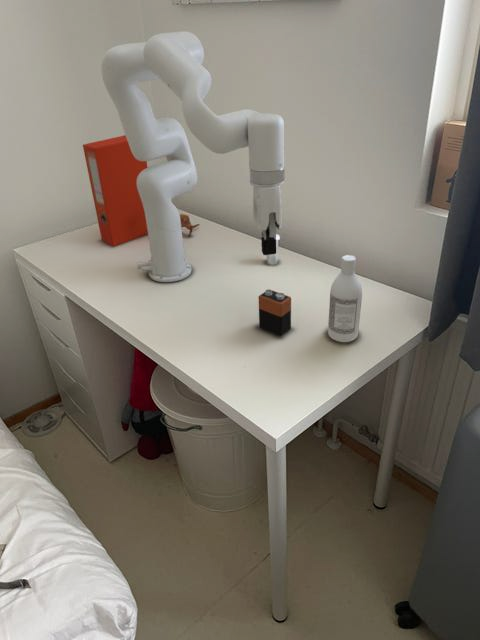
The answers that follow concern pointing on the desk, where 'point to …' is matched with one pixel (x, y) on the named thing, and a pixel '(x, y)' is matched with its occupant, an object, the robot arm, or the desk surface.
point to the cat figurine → (187, 223)
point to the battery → (275, 312)
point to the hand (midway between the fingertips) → (269, 253)
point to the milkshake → (273, 258)
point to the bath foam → (345, 303)
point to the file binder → (116, 189)
